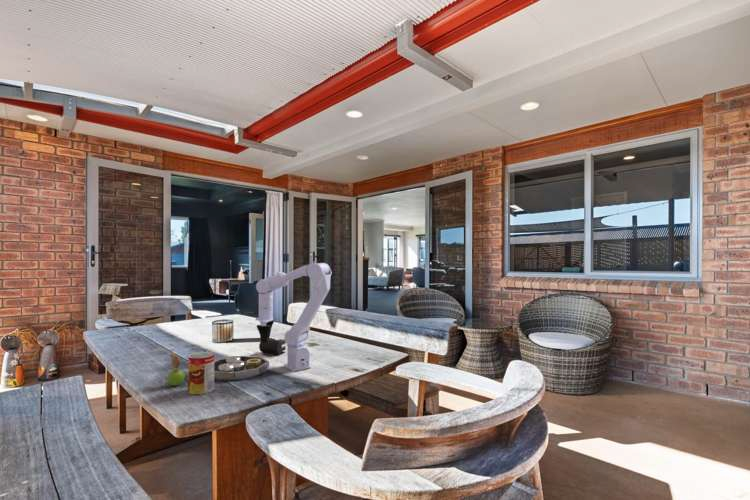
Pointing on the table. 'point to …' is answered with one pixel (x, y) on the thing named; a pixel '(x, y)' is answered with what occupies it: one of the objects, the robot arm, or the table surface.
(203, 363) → the canned food
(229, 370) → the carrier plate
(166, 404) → the table surface
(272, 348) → the end cap
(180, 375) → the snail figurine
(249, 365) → the gold octagonal ring
